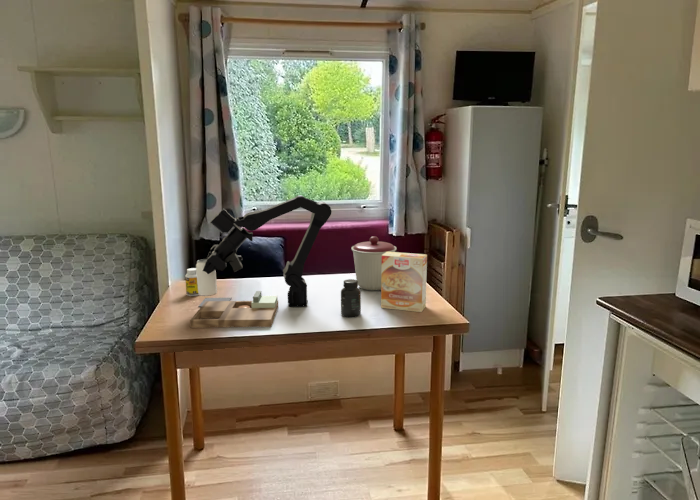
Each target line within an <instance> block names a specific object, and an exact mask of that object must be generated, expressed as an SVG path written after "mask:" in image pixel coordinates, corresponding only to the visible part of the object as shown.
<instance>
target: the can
mask: <svg viewBox="0 0 700 500" xmlns="http://www.w3.org/2000/svg"><path fill="white" fill-rule="evenodd" d="M206 261H207V258H203V259H198V260H197V261H196V264H195V268H196V273H197V284H198V294H199V295H198V296H200V297H209V296H210V297H211V296H215V295H217V294H218V283H217V272H216V270H214V271H212V272H211V273H209V274H207V273H206V272H205V271H203V269H204V266H205V264H206Z"/></svg>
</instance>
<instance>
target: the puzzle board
mask: <svg viewBox="0 0 700 500" xmlns="http://www.w3.org/2000/svg"><path fill="white" fill-rule="evenodd" d="M252 301H253V300H231V301H206V302H205V303H204V304H203V305H202V307H199V309H198V310H197V311H196V312H195V314H194V315H193V316H192V317H191V319H190V320H189V325H190V326H189V327H190V329H199V328H200V329H202V328H203V329H207V328H213V329H214V328H271V327H272V326H273V323H274V321H275V317H276V315H277V312H278V309H279V300H278V301H277V304H276V306H275V308H252V307H251V303H252ZM240 306H250V308H238V307H240Z"/></svg>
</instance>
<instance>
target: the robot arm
mask: <svg viewBox="0 0 700 500" xmlns="http://www.w3.org/2000/svg"><path fill="white" fill-rule="evenodd" d="M297 209H303V210H306V211H308V212H310V213H311V215H310V219H309V220H310V221H309V222H310V223H309V225H308V227H307V229H306V231H305V234H304V236H303V238H302V240H301V243H300V245H299V247H298V249H297V251H296V253H295V256H294V258H293V259H292V260H291V261H289V260H287V262H286V265H285V267H284V268H283V269H282V272H283V279H284V282H285V283H286V285H287V286H289V287H288V291H287V304H288V307H293V308H294V307H295V308H296V307H297V308H299V307H308V304H309V303H308V301H309V300H308V285H307V281H306V280H305V278H304V277H303V273H304V269H305V263H306V261H307V259H308V257H309V255H310V252H311V250H312V247H313V246H314V243H315V241H316V239H317V237H318V234H319V232H320V230H321V228H323V226H324V225H326V222H327V221H328V220H329V219H330V217H331V215H332V208H331V206H330V205H329V204H328V203H326V202H325V201H316V200H313V199H310V198H307V197H305V196H303V195H299V194H298V195H296V196H295V197H293V198H290V199H287V200H285V201H283V202H281V203H278V204H275V205H273V206H270V207H267V208H265V209H260V210H255V211H249V212H247V213H245V215H243V216H238V217H233V216H232V215H231V214H230V212H228V211H227V210H226V208H222V209H221V210H220V211H219V212H218V213H217V214H215V216H213V218H212V219H211V220H210V222H209V224H211V225H212V226H213V227H214V228H216V229H217V231H219V233H221V234H224V233H225V234H227V235H226V236H225V237H223V238H222V241H220V243H219V244H217V243H216V244H213V245H212V247H211V248H210V251H209V252H208V255H207V257H206V259H207V261H206V264H205V266H204V269H203V271H205V272H206V273H207V274H209V273H211V272H212V271H214V270H217V271H221V272H223V271H224V270H225V269H226V268H227V263H228V262H229V264H230V266H231V267H232V270H233V272H234V273H235V272H237V271H239V270H241V269H243V266H244V265H243V264H242V261H243V257H242V255H238V252H237V251H238V249H239V248H240V247H241V245H243V243H245V241H246V240H247V239H248V240H249V241H250V242H253V241H254V238H253V236H254V233H253V231H256V230H258V229H259V228H261V227H263V226H264V225H266V224H267V223H268V222H269V221H271V220H273V219H276V218H278V217H280V216H281V217H282V216H283V215H286V214H288V213H290V212H293V211H296V210H297ZM249 231H250V232H249Z"/></svg>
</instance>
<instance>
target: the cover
mask: <svg viewBox="0 0 700 500" xmlns="http://www.w3.org/2000/svg"><path fill="white" fill-rule="evenodd" d="M251 301H252V303H251V307H252V308H275V306H276V304H277V301H278V302H279V300H278V295H263V294H262V291H261V290H256V291H255V293H254V294H253V296H252V300H251Z"/></svg>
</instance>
